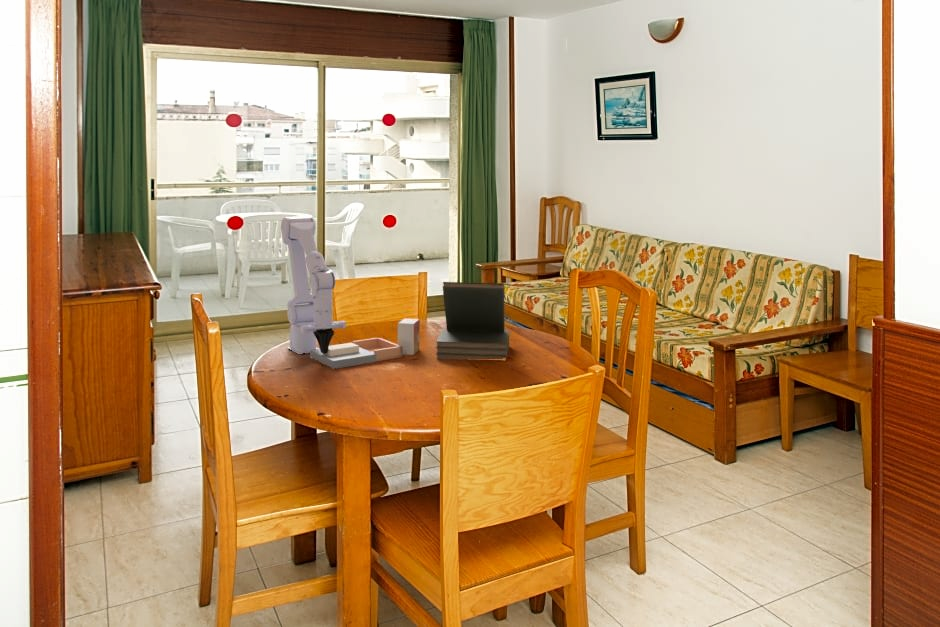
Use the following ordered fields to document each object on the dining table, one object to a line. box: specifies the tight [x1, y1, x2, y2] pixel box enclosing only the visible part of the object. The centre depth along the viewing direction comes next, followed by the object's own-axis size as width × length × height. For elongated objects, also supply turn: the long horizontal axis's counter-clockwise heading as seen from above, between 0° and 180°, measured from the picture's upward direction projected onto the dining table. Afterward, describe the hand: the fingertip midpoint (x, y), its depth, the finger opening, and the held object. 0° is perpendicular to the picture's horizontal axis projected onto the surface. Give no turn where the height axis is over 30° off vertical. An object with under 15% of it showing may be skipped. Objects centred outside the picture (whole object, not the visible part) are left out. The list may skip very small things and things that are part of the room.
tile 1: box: [325, 344, 345, 356], centre depth 250 cm, size 5×5×2 cm
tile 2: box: [337, 342, 359, 354], centre depth 253 cm, size 5×5×2 cm
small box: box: [397, 318, 421, 356], centre depth 263 cm, size 8×6×10 cm
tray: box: [351, 337, 404, 362], centre depth 260 cm, size 15×10×4 cm, turn 37°
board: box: [309, 347, 377, 370], centre depth 252 cm, size 16×15×2 cm
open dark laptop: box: [435, 281, 510, 360], centre depth 261 cm, size 23×20×25 cm
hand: (324, 352), depth 248 cm, fingers closed
